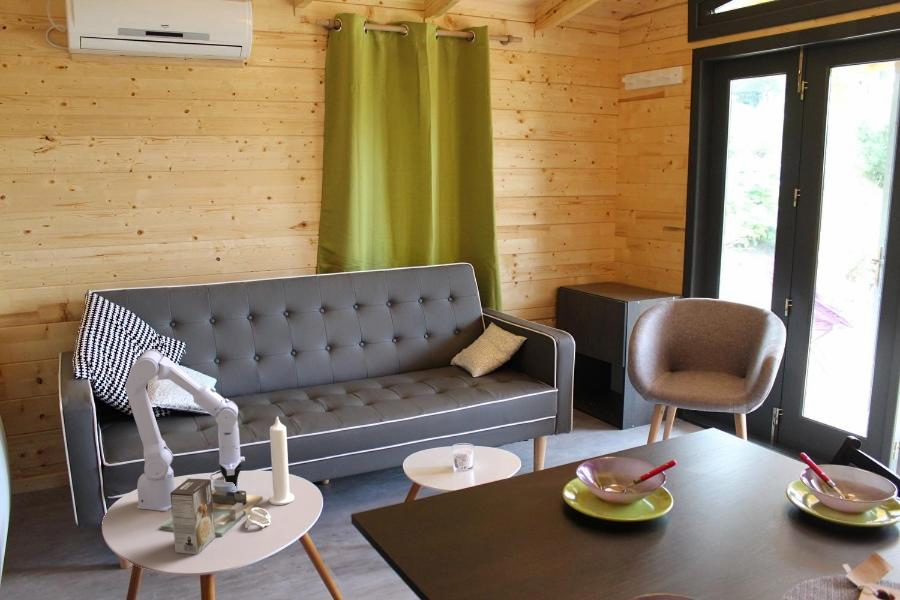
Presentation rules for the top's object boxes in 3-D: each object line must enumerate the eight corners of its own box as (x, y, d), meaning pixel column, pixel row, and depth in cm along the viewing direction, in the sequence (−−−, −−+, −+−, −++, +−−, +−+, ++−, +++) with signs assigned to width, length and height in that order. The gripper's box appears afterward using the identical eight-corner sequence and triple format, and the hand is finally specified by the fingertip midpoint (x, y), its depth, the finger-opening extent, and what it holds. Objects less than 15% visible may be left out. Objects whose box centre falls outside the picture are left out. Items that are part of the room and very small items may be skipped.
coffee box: (193, 535, 197) (188, 477, 195) (216, 537, 196) (211, 478, 193) (174, 553, 189) (169, 492, 186) (198, 555, 187) (193, 494, 185)
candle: (269, 496, 220) (264, 413, 216) (293, 493, 222) (289, 411, 217) (269, 506, 213) (264, 421, 209) (294, 503, 215) (290, 419, 211)
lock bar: (248, 501, 214) (248, 491, 213) (243, 506, 211) (242, 495, 210) (211, 497, 217) (211, 487, 216) (205, 502, 214) (205, 492, 213)
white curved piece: (246, 522, 207) (243, 505, 206) (271, 517, 208) (268, 500, 207) (245, 534, 199) (242, 516, 198) (271, 528, 200) (269, 511, 200)
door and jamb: (160, 529, 201) (159, 515, 200) (206, 493, 222) (205, 481, 221) (221, 536, 197) (220, 522, 196) (262, 499, 218) (261, 486, 217)
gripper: (244, 452, 211) (247, 498, 213) (243, 434, 224) (245, 477, 227) (217, 455, 209) (221, 501, 211) (218, 437, 222) (221, 480, 225)
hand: (232, 489), depth 219 cm, fingers closed
